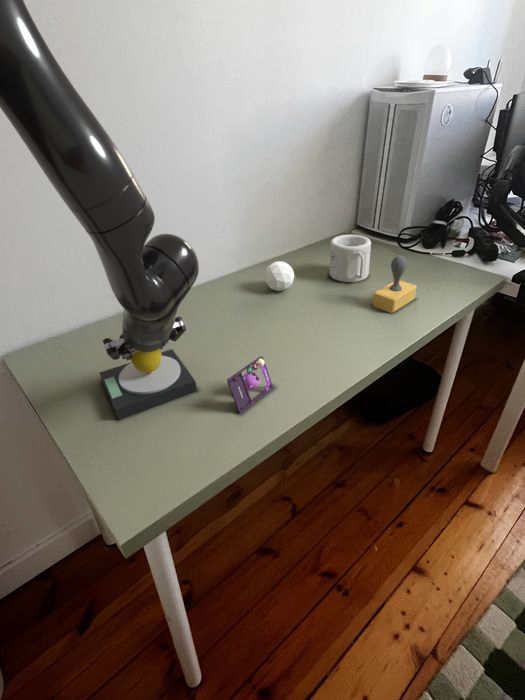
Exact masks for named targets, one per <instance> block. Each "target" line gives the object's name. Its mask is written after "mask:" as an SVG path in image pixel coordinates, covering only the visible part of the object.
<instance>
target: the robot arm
mask: <svg viewBox="0 0 525 700" xmlns="http://www.w3.org/2000/svg"><path fill="white" fill-rule="evenodd" d="M0 109H1V111H2V113H3V115H5V117H6V118H7V120H8V121H9V122H10V124H11V125H12V127H13V128H14V130H15V131H16V133H17V134H18V136H19V138H21V140H22V142H23V143H24V145H25V146H26V147H27V149H28V150H29V152H30V153H31V155H32V157H33V158H34V159H35V161H36V163H37V164H38V166H39V167H40V168H41V171H42V172H43V174H44V175H45V176H46V178H47V179H48V181H49V182H50V183H51V185H52V187H53V188H54V189H55V191H56V192H57V194H58V195H59V196H60V198H61V199H62V201H63V202H64V203H65V205H66V207H67V208H68V209H69V211H70V212H71V213H72V214H73V216H74V217H75V218H76V220H77V221H78V223H79V224H80V226H81V227H82V228H83V229H84V230H85V232H86V233H87V234H88V236H89V237H90V240H91V241H92V243H93V245H94V248H95V250H96V252H97V255H98V256H99V260H100V262H101V265H102V267H103V269H104V272H105V275H106V278H107V279H106V280H107V281H108V284H109V287H110V289H111V291H112V293H113V295H114V297H115V298H116V300H117V302H118V303H119V305H120V306H121V307H122V308H123V312H122V328H121V329H122V333H121V334H120V335H119V338H118V339H114V338H110V337H106V338H104V339H103V340H102V342H103V346H104V348H105V351H106V354H107V356H109V357H110V358H111V359H112V360H116V361H117V360H119V359H120V358H122V360H126V361H131V355H132V354H136V353H137V352H139V351H142V352H152V351H156V350H158V349H160V351H161V350H164V347H166V346H167V345H168V344H169V341H171V342H176V341H177V340H179V339H180V337H182V335H184V333H185V332H186V331H187V327H186V325H185V323H184V320H183V317H182V316H177V313H178V308H179V307H180V305H181V303H182V302H183V300H184V299H185V298H186V296H187V295H188V293H189V292H190V290H191V289H192V287H194V285H195V283H196V281H197V278H198V276H199V272H200V271H199V270H200V265H199V259H198V256H197V254H196V252H195V250H194V248H193V247H192V245H191V244H190V243H189V242H188V241H186V240H185V239H184V238H183V237H180V236H178V235H176V234H173V233H160V234H157V235H155V236H153V237H151V238H150V239H148V238H149V236H150V234H151V232H152V231H153V228H154V225H155V222H156V216H155V212H154V209H153V207H152V205H151V203H150V201H149V200H148V198H147V196H146V194H145V192H144V191H143V189H142V187H141V185H140V183H139V181H138V180H137V179H136V177H135V175H134V173H133V172H132V170H131V168H130V166H129V164H128V163H127V161H126V159H125V158H124V156H123V154H122V153H121V151H120V150H119V148H118V146H117V145H116V144H115V142H114V141H113V139H112V137H111V136H110V135H109V133H108V132H107V130H106V129H105V128H104V126H103V125H102V124H101V122H100V121H99V119H98V118H97V116H96V115H95V114H94V113H93V111H92V110H91V108H90V107H89V106H88V105H87V103H86V101H85V100H84V99H83V97H82V96H81V95H80V93H79V92H78V91H77V89H76V88H75V86H74V85H73V83H72V82H71V80H70V79H69V78H68V76H67V75H66V73H65V71H64V70H63V69H62V67H61V66H60V64H59V62H58V61H57V59H56V57H55V56H54V54H53V53H52V51H51V50H50V48H49V46H48V44H47V42H46V41H45V39H44V37H43V36H42V34H41V32H40V31H39V28H38V26H37V25H36V23H35V21H34V19H33V17H32V16H31V13H30V12H29V8H28V7H27V5H26V3H25V1H24V0H0Z"/></svg>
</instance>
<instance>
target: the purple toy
mask: <svg viewBox="0 0 525 700" xmlns="http://www.w3.org/2000/svg"><path fill="white" fill-rule="evenodd" d="M259 368H260V370H261V372H262V374H263V377H264V380H265V382H266V383H265V384H266V386H265V390H263V391H262V392H261V393H260V394H259V395H257V396H256V397H254V398H253V399H252V398H251V395H250V392H251V391H253V390H254V389H256V388H257V387H258V385H260V384H261V381H260V379H261V378H262V375H261V376H258V375H257V373H258V369H259ZM244 371H246V373H244V375H243V372H244ZM253 371H254V372H253ZM226 382H227V385H228V387H229V390H230V393H231V396H232V398H233V401H234V403H235V406H236V409H237V412H238V413H241V414H242V413H243V412H245V410H247V409H248V408H250V407H251V406H252V405H253V404H254V403H256V402H257V401H258V400H260V399H261V398H262V397H264V396H265V395H266V394H267V393H269V392H270V391H272V389H273V388H274V385H273V382H272V379H271V376H270V374H269V370H268V367H267V365H266V362H265V358H264V356H262V355H260V356H259V357H257V358H256V359H254V360H253V361H251V362H250V363H248V364H247V365H246V366H244V367H243V368H241V369H240V370H238V371H237V372H235V373H234V374H233V375H231V376H230V377H228V378H227V379H226Z"/></svg>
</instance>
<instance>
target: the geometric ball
mask: <svg viewBox="0 0 525 700" xmlns="http://www.w3.org/2000/svg"><path fill="white" fill-rule="evenodd" d="M294 279H295V273H294V270H293V268H292V266H291V265H289V264H288V263H287V262H285V261H283V260H282V261H277V260H276V261H274V262H272V263H271V264H270V265H268V266H267V267H266V270H265V273H264V280H265V283H266V284H267V286H268V287H269V288H270V289H272V290H274V291H277V292H282V291H285V290H288V288H290V287H291V286H292V285H293V282H294Z"/></svg>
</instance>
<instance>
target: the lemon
mask: <svg viewBox="0 0 525 700" xmlns="http://www.w3.org/2000/svg"><path fill="white" fill-rule="evenodd" d="M161 352H162V351H161V350H160V349H158V350H156V351H152V352H142V351H139V352H137V353H136V354H132V355H131V360H130V362H132V364H133V365H134V367H135V368H136V369H137V370H139V371H140V372H143V373H152V372H153V371H155V370H156V369H157V368H158V367H159V365H160V363H161Z"/></svg>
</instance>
